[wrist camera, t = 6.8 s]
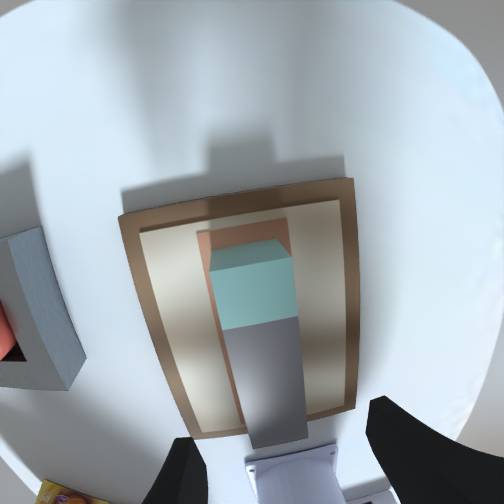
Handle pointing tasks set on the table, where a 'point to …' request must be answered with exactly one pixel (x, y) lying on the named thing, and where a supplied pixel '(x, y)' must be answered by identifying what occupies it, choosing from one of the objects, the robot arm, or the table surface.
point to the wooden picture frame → (204, 305)
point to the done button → (5, 334)
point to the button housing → (35, 318)
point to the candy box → (63, 495)
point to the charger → (376, 498)
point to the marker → (262, 338)
